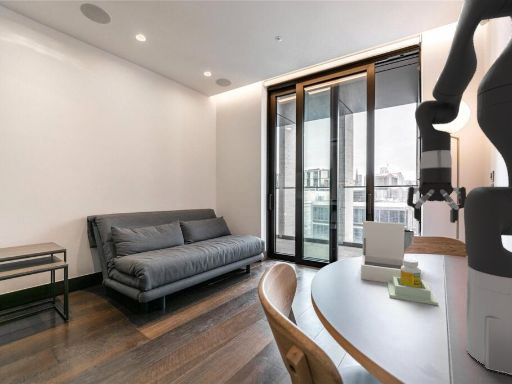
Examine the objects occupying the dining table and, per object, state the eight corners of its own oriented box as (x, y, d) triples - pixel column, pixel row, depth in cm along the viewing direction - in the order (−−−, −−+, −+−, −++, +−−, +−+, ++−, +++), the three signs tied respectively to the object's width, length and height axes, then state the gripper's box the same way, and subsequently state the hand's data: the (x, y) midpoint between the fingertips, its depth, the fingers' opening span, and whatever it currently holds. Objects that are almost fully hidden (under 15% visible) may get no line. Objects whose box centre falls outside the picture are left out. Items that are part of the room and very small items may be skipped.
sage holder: (438, 305, 70) (438, 293, 70) (389, 297, 75) (389, 286, 75) (429, 289, 80) (429, 279, 80) (387, 283, 86) (387, 274, 86)
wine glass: (387, 263, 108) (388, 229, 108) (399, 261, 111) (400, 228, 111) (405, 269, 101) (406, 232, 101) (417, 266, 104) (418, 231, 104)
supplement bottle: (405, 286, 81) (405, 257, 81) (423, 292, 77) (424, 261, 77) (397, 290, 78) (397, 259, 78) (415, 296, 74) (415, 264, 74)
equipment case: (409, 285, 84) (409, 229, 83) (360, 278, 90) (361, 226, 90) (403, 270, 99) (404, 223, 99) (362, 265, 106) (363, 221, 105)
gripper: (409, 166, 73) (409, 221, 73) (470, 165, 68) (470, 224, 68) (406, 169, 80) (405, 219, 80) (461, 167, 74) (460, 221, 74)
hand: (435, 221), depth 74 cm, fingers open, 8 cm apart
